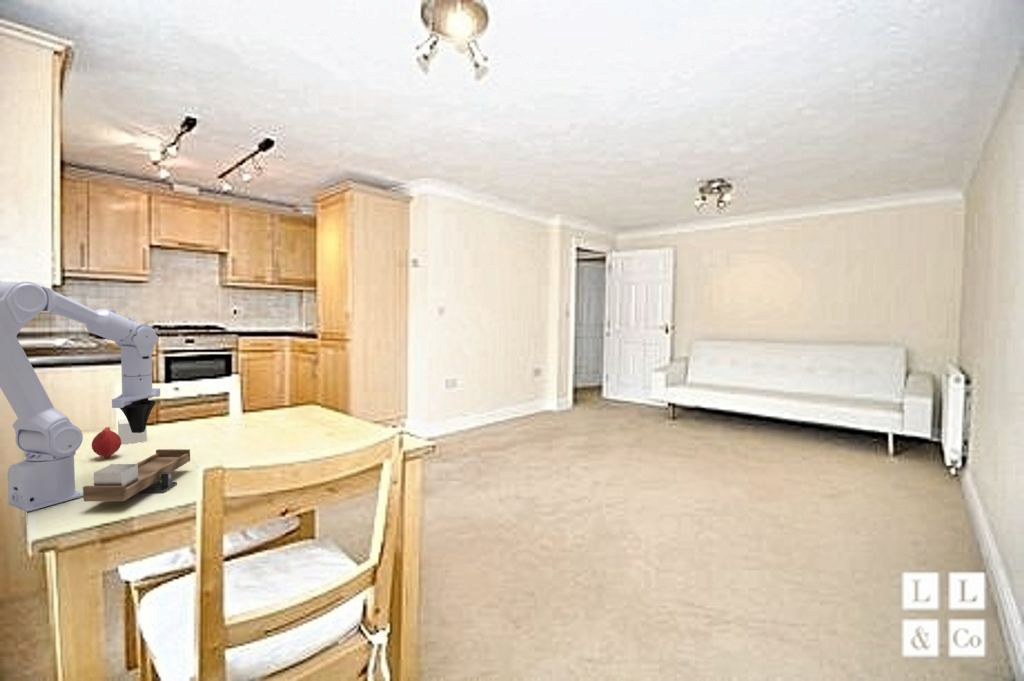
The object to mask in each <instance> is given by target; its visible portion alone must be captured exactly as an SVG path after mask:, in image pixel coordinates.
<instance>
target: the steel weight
mask: <svg viewBox="0 0 1024 681" xmlns="http://www.w3.org/2000/svg"><path fill="white" fill-rule="evenodd" d="M137 481H138V464H137V463H124V464H123V463H112V464H111V463H110V464H109V465H107V466H105V467H102V468H100V469H98V470H96V471H94V472H93V486H126V488H127V487H128V486H130V485H132V484H134V483H135V482H137Z"/></svg>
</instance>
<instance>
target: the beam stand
mask: <svg viewBox="0 0 1024 681" xmlns="http://www.w3.org/2000/svg"><path fill="white" fill-rule="evenodd" d="M160 480H161V481H156V482H155V483H153V484H151V485H150V486H148V487H146V488H145V489H143V490H141V491H140V492H138V493H137V494H165V493H166V492H168V491H170V490H171V489H173V488H174V487H176V486H177V485H178V482H177V481H173V472H164V473H162V474H161V479H160ZM175 485H176V486H175ZM170 488H171V489H170ZM167 490H168V491H167ZM164 492H165V493H164Z"/></svg>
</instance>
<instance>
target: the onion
mask: <svg viewBox="0 0 1024 681" xmlns="http://www.w3.org/2000/svg"><path fill="white" fill-rule="evenodd" d="M121 446H122V445H121V438H120V437H119V435H118V433H116V432H114V431H113V430H111V427H110V426H106V427H104V428H103V429H102V431H100V432H98V433H97V434H96V435H95V436H94V438H93V440H92V442H91V449H92V452H94V453H95V454H96V455H98V456H100V457H101V458H105V459H109V458H111V457H112V456H113V455H114V454H115V453H117V452H118V450H120V448H121Z"/></svg>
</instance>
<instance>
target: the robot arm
mask: <svg viewBox="0 0 1024 681" xmlns="http://www.w3.org/2000/svg"><path fill="white" fill-rule="evenodd" d="M41 312H50V313H53V314H55V315H58V316H62V317H63V318H67V319H70V320H73V321H75V322H78V323H82V324H85V328H86V330H87V331H88V332H89V333H91V334H94V335H96V336H99V337H102V338H104V339H106V340H109V341H112V342H114V343H115V344H116V346H117V347H119V348H120V354H121V355H120V357H121V358H120V361H121V364H120V365H121V394H120V395H118V396H117V397H115V398H113V399H111V408H112V409H120V410H121V412H122V413H123V414H124V416H125V417H126V419H127V420H128V422H129V425H130V428H131V431H132V433H142V432H144V431H145V428H146V429H147V424H148V420H149V417H150V414H151V412H152V410H153V408H154V407H155V406H156V400H153V399H152V398H156V397H161V388H157V387H156V388H153V360H152V359H153V358H152V357H153V356H152V355H153V354H154V347H155V346H156V344H157V343H158V339H159V336H158V335H157V333H156V331H155V330H154V328H153V327H152V326H150V325H149V324H146V323H145V324H142V323H137V322H136V319H134V318H132V317H128V318H127V317H125V316H123V315H120V314H118V313H117V310H116V309H114V308H107V307H106V308H98V309H96V310H94V309H93V308H91V307H88V306H86V305H84V304H82V303H79V302H78V301H76V300H74V299H71V298H70V297H67V296H65V295H63V294H61V293H59V292H56V291H55V290H53V289H52V288H50V287H47V286H41V285H39V284H37V283H35V282H34V281H33V282H32V281H2V280H1V281H0V390H1V391H2V394H3V395H4V396H5V398H6V400H7V401H8V403H9V405H10V407H11V409H12V410H13V412H14V414H15V415H16V417H17V419H16V420H15V421H14V422H13V424H12V428H13V430H14V431H15V444H16V446H17V448H18V449H20V450H21V451H22V452H23V456H24V458H25V459H23V460H22V461H20V462H16V463H12V464H11V465H10V466H9V467H8V471H7V491H8V492H7V495H8V501H7V502H6V505H8V506H11V507H13V508H17V509H19V510H20V511H21V510H22V511H24V512H31V511H36V510H38V509H42V508H45V507H50V506H53V505H57V504H59V503H64V502H67V501H71V500H74V499H78V498H81V497H82V498H83V491H79V490H76V480H75V479H76V474H75V473H76V472H75V455H76V452H77V450H79V448H80V447H81V445H82V443H83V438H84V435H83V433H82V430H81V429H80V427H78V426H76V425H75V424H73V423H72V422H71V420H70V419H69V417H68V416H67V415H66V414H64V413H62V412H61V411H60V410H58V409H57V408H55V406H54V405H53V402H52V401H51V398H50V397H49V395H48V393H47V391H46V390H45V388H44V386H43V384H42V382H41V380H40V379H39V376H38V375H37V373H36V371H35V368H34V367H33V366H32V363H31V362H30V360H29V357H28V356H27V355H26V352H25V350H24V348H23V347H22V345H21V343H20V341H19V339H18V337H17V336H18V334H19V332H20V331H21V330H22V328H24V327H25V326H26V325H27V324H28V323H29V322H30V321H32V320H33V319H34V318H36V317H37V316H38V315H39V314H41ZM150 399H152V400H150Z"/></svg>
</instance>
